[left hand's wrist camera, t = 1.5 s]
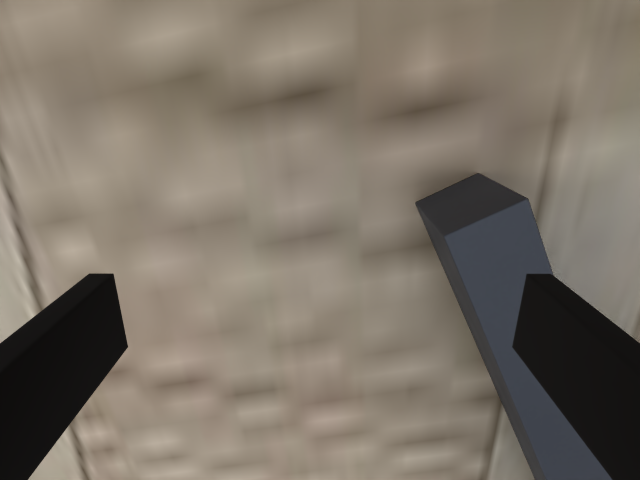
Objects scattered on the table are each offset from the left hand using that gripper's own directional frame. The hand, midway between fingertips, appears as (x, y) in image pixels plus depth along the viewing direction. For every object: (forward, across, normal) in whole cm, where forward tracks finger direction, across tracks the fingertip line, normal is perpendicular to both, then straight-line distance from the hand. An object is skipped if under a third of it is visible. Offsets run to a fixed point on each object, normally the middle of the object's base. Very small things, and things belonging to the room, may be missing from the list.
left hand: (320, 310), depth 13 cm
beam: (+18, +22, -25) cm, 38 cm away
